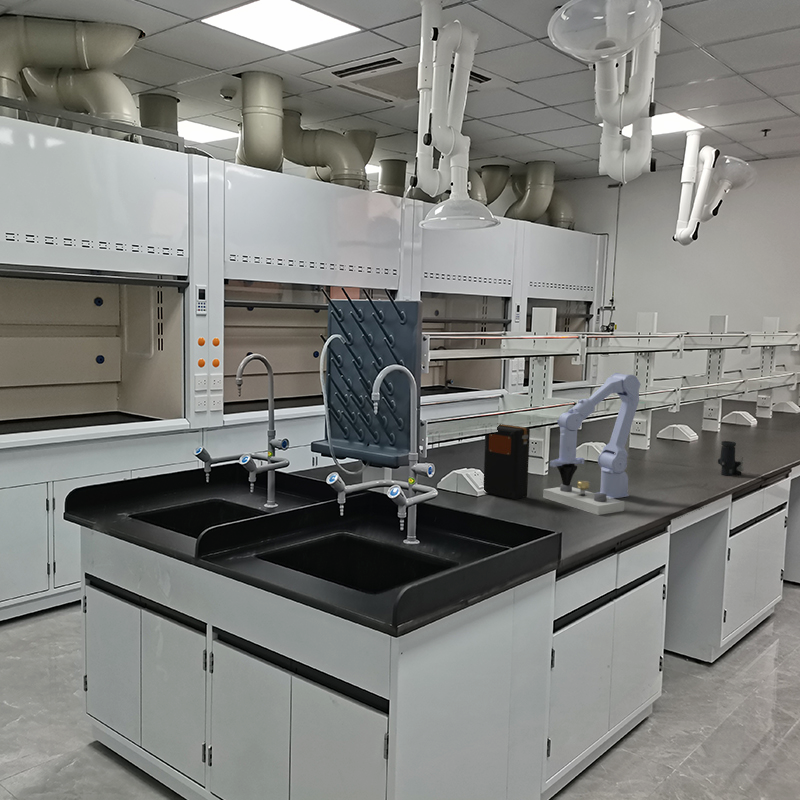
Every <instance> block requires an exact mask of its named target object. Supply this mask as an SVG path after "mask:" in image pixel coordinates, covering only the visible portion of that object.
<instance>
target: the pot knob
mask: <svg viewBox="0 0 800 800" xmlns="http://www.w3.org/2000/svg"><path fill="white" fill-rule="evenodd" d="M576 488H578V489H581V490H580V496H585V491H586V490H588V489H589V490H590V481H588V480H577V482H576Z"/></svg>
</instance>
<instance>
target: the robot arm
mask: <svg viewBox="0 0 800 800" xmlns="http://www.w3.org/2000/svg"><path fill="white" fill-rule="evenodd" d="M640 388H641V382H640V380H639V379H638V377H637V376H636V375H634V374H625V373H620V372H615V373H612V374H611V375H610V376H609V377H607V378H606V379H605V382H604V383H603V384H602V385H600V387H599V388H598V389H597V390H596V391H595V392H593V394H591V396H589V397H588V398H582V399H581V398H580V399H579V400H578V401H577V403H576V404H575V405H574V406H572V408H568V411H566V412H563V413H561V414H560V416H559V418H558V419H557V425H558V427H559V432H560V434H559V435H560V436H559V453H558V455H559V457H558V458H556V459H552V460H550V461H549V467H552V468H557V470H558V472H559V475H560V478H561V482H562V483H561V484H563V485H566V486H569V485H570V484H571V482H572V479H573V477H574V475H575V472H576V471H577V470H578V466H577V465H579V464H581V465H584V464H585V458H584V457H577V446H578V445H577V442H578V429H580V428H581V427H582V423H583V422H584V420H586V419H587V418H588V417H589V416H590V415H592V413H594V412H595V410H596V408H595V407H596V406H597V405H598V404H600V403H601V402H602V401H604V400H605V399H607V397H609V396H610V395H611V394H617V396H619V398H620V401H621V404H620V407H619V409H618V414H617V416H616V419H615V423H614V427H613V430H612V434H611V437H610V438H609V442H608V443H607V444H606V445H604V447H603V448H602V450H601V452H600V453H599V455H598V457H597V463H598V465H599V467H600V470H601V471H600V490H599V492H597V493H603V494H606V495H607V497H609V498H613V499H620V498H624V497H625V498H626V497H630V494H628V493H629V491H628V489H629V476H628V474H627V472H626V471H625V470H626V469H627V466H628V459H627V458H628V456H629V454H628V451H627V450H626V444H627V441H628V437H629V434H630V432H631V428H632V425H633V422H634V418H635V415H636V413H637V409H638V405H639V402H640V394H639V393H640Z"/></svg>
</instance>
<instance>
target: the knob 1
mask: <svg viewBox="0 0 800 800" xmlns="http://www.w3.org/2000/svg"><path fill="white" fill-rule="evenodd" d="M559 485H560V486H559V487H560V491H564V492H571V491H572V487H573V484H571V483H570V485H569V486H566V485H563V483H561V484H559Z"/></svg>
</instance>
